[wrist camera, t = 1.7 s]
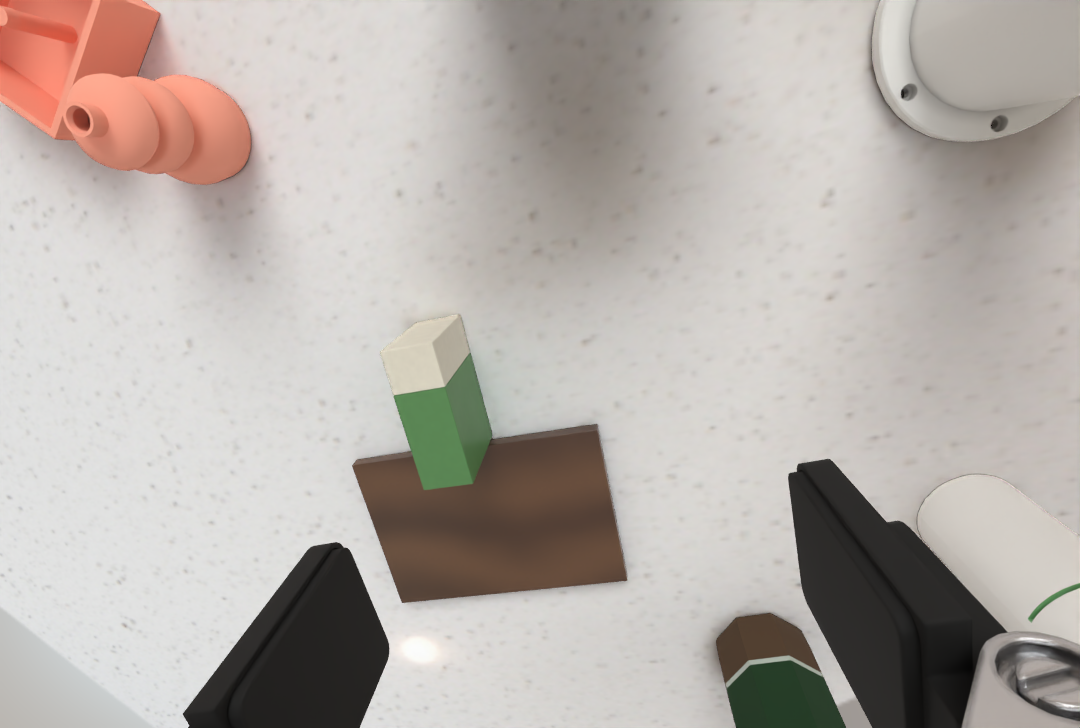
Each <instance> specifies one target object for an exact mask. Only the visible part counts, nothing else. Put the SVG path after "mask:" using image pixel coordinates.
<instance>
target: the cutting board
mask: <svg viewBox="0 0 1080 728" xmlns="http://www.w3.org/2000/svg"><path fill="white" fill-rule="evenodd" d="M352 467H353V470H354V472H355V475H356V478H357V481H358V483H359V486H360V489H361V491H362V494H363V497H364V500H365V502H366V505H367V508H368V511H369V513H370V516H371V519H372V522H373V524H374V527H375V530H376V533H377V535H378V538H379V541H380V544H381V546H382V549H383V552H384V555H385V557H386V560H387V563H388V566H389V568H390V571H391V574H392V577H393V579H394V582H395V585H396V588H397V590H398V593H399V596H400V599H401V601H402V603H406V602H416V601H426V600H436V599H446V598H456V597H467V596H477V595H487V594H497V593H507V592H517V591H527V590H538V589H548V588H558V587H568V586H578V585H588V584H598V583H609V582H619V581H627V571H626V566H625V561H624V556H623V551H622V546H621V541H620V536H619V531H618V526H617V521H616V516H615V511H614V506H613V501H612V495H611V490H610V485H609V480H608V475H607V470H606V465H605V460H604V455H603V450H602V445H601V440H600V435H599V430H598V425H597V424H594V425H587V426H581V427H574V428H567V429H560V430H554V431H547V432H540V433H533V434H527V435H520V436H513V437H506V438H500V439H493V440H490V443H489V445H488V448H487V450H486V453H485V455H484V458H483V460H482V463H481V465H480V468H479V470H478V472H477V475H476V477H475V480H474V482H473V484H467V485H460V486H452V487H445V488H438V489H430V490H424V489H423V486H422V483H421V480H420V477H419V474H418V470H417V467H416V464H415V461H414V458H413V455H412V452H405V453H399V454H392V455H385V456H378V457H372V458H365V459H358V460H356V462H355V463H354V464H353V465H352Z"/></svg>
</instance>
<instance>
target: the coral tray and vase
mask: <svg viewBox="0 0 1080 728" xmlns="http://www.w3.org/2000/svg"><path fill="white" fill-rule="evenodd" d="M159 16H160V13H159V12H157V11H156V10H155V9H153V8H152V7H151V6H149V5H148V4H147V3H145V2H144V1H143V0H0V101H1V102H2V103H4V104H5V105H7V106H8V107H9V108H11V109H12V110H14V111H15V112H17V113H18V114H19V115H21V116H22V117H24V118H25V119H27V120H28V121H30V122H31V123H32V124H34V125H35V126H37V127H38V128H40V129H41V130H42V131H44V132H45V133H47V134H48V135H50V136H51V137H53V138H54V139H61V140H76V142H77V143H78V145H79V146H80V147H81V149H82V150H83V151H84V152H85V153H86V154H87V155H88V156H89V157H91V158H92V159H93V160H95V161H96V162H98V163H100V164H102V165H104V166H107V167H110V168H114V169H117V170H123V171H130V170H138V171H141V172H145V173H149V174H161V173H166V174H168V175H170V176H172V177H174V178H176V179H178V180H180V181H184V182H187V183H191V184H200V185H206V184H213V183H217V182H220V181H222V180H224V179H227V178H229V177H231V176H234V175H235V174H237V173H238V172H239V171H240V170H241V169H242V168H243V167H244V165H245V164H246V162H247V160H248V158H249V154H250V150H251V136H250V130H249V126H248V123H247V120H246V118H245V116H244V114H243V112H242V111H241V109H240V108H239V106H238V105H237V104H236V103H235V102H234V101H233V100H232V98H230V97H229V96H228V95H226V94H225V93H224V92H222V91H220V90H219V89H217V88H216V87H214V86H213V85H211V84H209V83H207V82H205V81H203V80H201V79H198V78H194V77H190V76H187V75H170V76H165V77H161V78H159V79H157V80H155V81H152V80H149V79H146V78H142V77H137V75H138V72H139V69H140V67H141V64H142V61H143V59H144V56H145V53H146V51H147V48H148V45H149V43H150V40H151V37H152V34H153V32H154V29H155V26H156V24H157V21H158V18H159Z"/></svg>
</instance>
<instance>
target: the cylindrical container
mask: <svg viewBox="0 0 1080 728" xmlns="http://www.w3.org/2000/svg"><path fill="white" fill-rule="evenodd" d="M917 525H918V530H919V533H920V535H921V537H922V538H923V540H924V541H925V542H926V543H927V545H928V546H929V547H930V548H931V549H932V550H933V551H934V552H935V554H936V555H937V556H938V557H939V558H940V559H941V560H942V561H943V562H944V564H945V565H946V566H947V567H948V568H949V569H950V570H951V571H952V573H953V574H954V575H955V576H956V577H957V578H958V579H959V580H960V581H961V583H962V584H963V585H964V586H965V587H966V588H967V589H968V590H969V591H970V592H971V594H972V595H973V596H974V597H975V598H976V599H977V600H978V601H979V602H980V603H981V604H982V605H983V606H984V607H985V608H986V609H987V611H988V612H989V613H990V614H991V615H992V616H993V617H994V618H995V619H996V620H997V621H998V622H999V623H1000V624H1001V625H1002V626H1003V628H1004V629H1005V630H1006V631H1007V632H1013V631H1027V632H1039V633H1044V634H1048V635H1053V636H1057V637H1061V638H1064V639H1066V640H1069V641H1071V642H1074V643H1077V644H1079V645H1080V536H1079V535H1077V534H1076V533H1075V532H1073V531H1072V530H1071V529H1069V528H1068V527H1067V526H1065V525H1064V524H1063V523H1061V522H1060V521H1059V520H1057V519H1056V518H1055V517H1053V516H1052V515H1051V514H1049V513H1048V512H1047V511H1045V510H1044V509H1043V508H1041V507H1040V506H1039V505H1037V504H1036V503H1035V502H1033V501H1032V500H1031V499H1029V498H1028V497H1027V496H1025V495H1024V494H1023V493H1021V492H1020V491H1019V490H1017V489H1016V488H1015V487H1013V486H1012V485H1011V484H1009V483H1008V482H1006V481H1004V480H1002V479H1001V478H998V477H994V476H991V475H982V474H978V475H967V476H962V477H958V478H956V479H953V480H950V481H948V482H946V483H944V484H942V485H941V486H939V487H938V488H937V489H935V490H934V491H933V492H932V493H931V494H930V495H929V496H928V497H927V498H926V499H925V501H924V502H923V504H922V505H921V507H920V510H919V513H918V518H917Z"/></svg>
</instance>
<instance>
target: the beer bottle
mask: <svg viewBox="0 0 1080 728" xmlns="http://www.w3.org/2000/svg"><path fill="white" fill-rule="evenodd" d="M716 644H717V650H718V655H719V660H720V664H721V669H722V673H723V677H724V681H725V686H726V690H727V694H728V698H729V702H730V706H731V710H732V714H733V718H734V722H735V726H736V728H846V726H845V724H844V722H843V720H842V717H841V715H840V713H839V711H838V708H837V706H836V704H835V702H834V699H833V697H832V695H831V693H830V691H829V688H828V686H827V684H826V682H825V679H824V677H823V675H822V673H821V670H820V668H819V666H818V664H817V662H816V659H815V657H814V655H813V653H812V650H811V648H810V646H809V644H808V642H807V641H806V639H805V637H804V635H803V633H802V631H801V630H800V629H798V628H797V627H795V626H793V625H791V624H790V623H788V622H786V621H784V620H782V619H780V618H778V617H777V616H775V615H773V614H771V613H767V614H760V615H752V616H745V617H738V618H736V619H735V620H734V621H733V622H732V623H731V624H730V625H729V626H728V627H727V628H726V629H725V631H724V632H723V633H722V634H721V635H720V636H719V637H718V638H717V640H716Z"/></svg>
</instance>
